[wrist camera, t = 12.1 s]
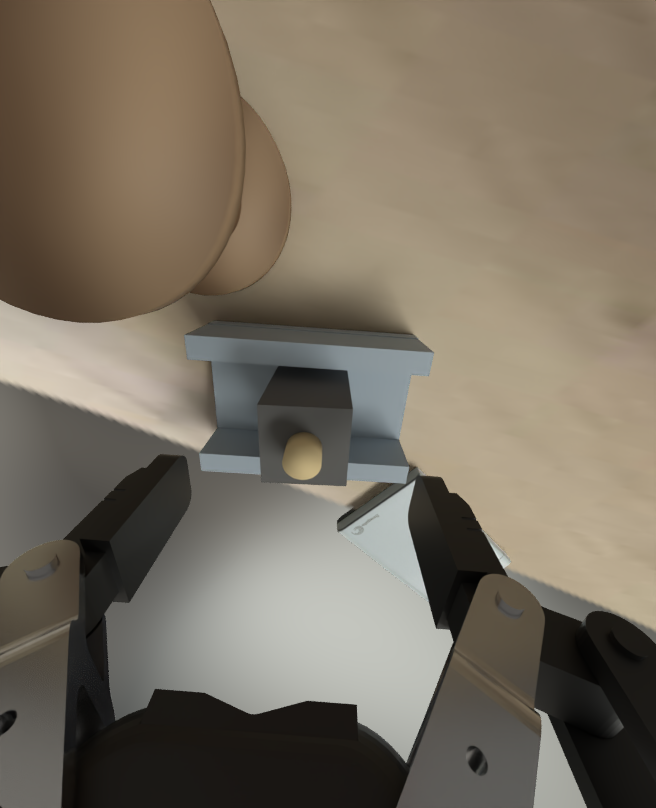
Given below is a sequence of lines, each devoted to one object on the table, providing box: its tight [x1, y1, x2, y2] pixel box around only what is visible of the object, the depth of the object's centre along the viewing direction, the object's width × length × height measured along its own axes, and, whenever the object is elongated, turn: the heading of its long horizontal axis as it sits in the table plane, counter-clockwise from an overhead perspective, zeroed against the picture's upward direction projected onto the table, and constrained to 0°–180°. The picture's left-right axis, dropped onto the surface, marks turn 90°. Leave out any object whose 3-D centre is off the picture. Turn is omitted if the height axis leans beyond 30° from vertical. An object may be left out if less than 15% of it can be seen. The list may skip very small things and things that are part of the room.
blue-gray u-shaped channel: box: [184, 321, 434, 484], centre depth 18 cm, size 12×8×4 cm, turn 86°
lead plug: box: [257, 366, 353, 486], centre depth 16 cm, size 4×4×7 cm
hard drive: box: [337, 467, 511, 602], centre depth 25 cm, size 2×8×12 cm
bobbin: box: [0, 0, 291, 323], centre depth 11 cm, size 9×9×10 cm
